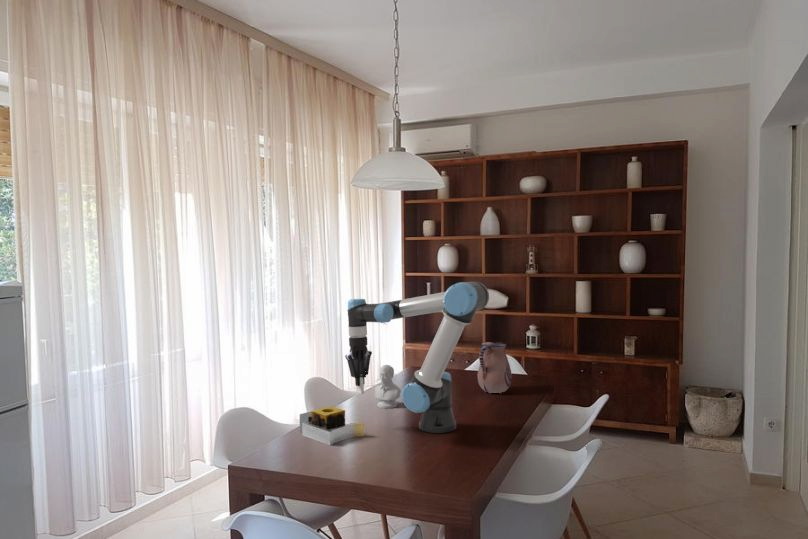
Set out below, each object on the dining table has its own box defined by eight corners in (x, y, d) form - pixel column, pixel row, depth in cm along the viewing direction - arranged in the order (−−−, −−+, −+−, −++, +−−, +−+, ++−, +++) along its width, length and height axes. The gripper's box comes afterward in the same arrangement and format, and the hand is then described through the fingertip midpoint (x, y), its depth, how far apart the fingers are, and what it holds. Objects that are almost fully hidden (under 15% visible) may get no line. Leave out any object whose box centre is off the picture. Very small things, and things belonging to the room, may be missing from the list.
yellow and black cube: (326, 441, 214) (325, 415, 214) (310, 436, 221) (309, 410, 221) (346, 435, 221) (346, 410, 221) (330, 430, 228) (330, 405, 228)
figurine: (395, 409, 257) (394, 367, 256) (370, 407, 262) (370, 365, 261) (403, 404, 265) (403, 364, 265) (379, 402, 270) (379, 362, 270)
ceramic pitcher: (517, 390, 289) (516, 342, 289) (501, 399, 272) (500, 348, 271) (486, 386, 299) (485, 340, 298) (468, 395, 281) (468, 345, 281)
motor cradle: (365, 435, 220) (364, 418, 219) (332, 446, 208) (332, 427, 208) (327, 423, 237) (326, 407, 236) (295, 432, 225) (294, 415, 225)
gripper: (363, 333, 238) (366, 389, 238) (339, 337, 229) (342, 395, 229) (375, 334, 233) (378, 391, 233) (351, 338, 223) (354, 397, 223)
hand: (360, 393), depth 231 cm, fingers closed
